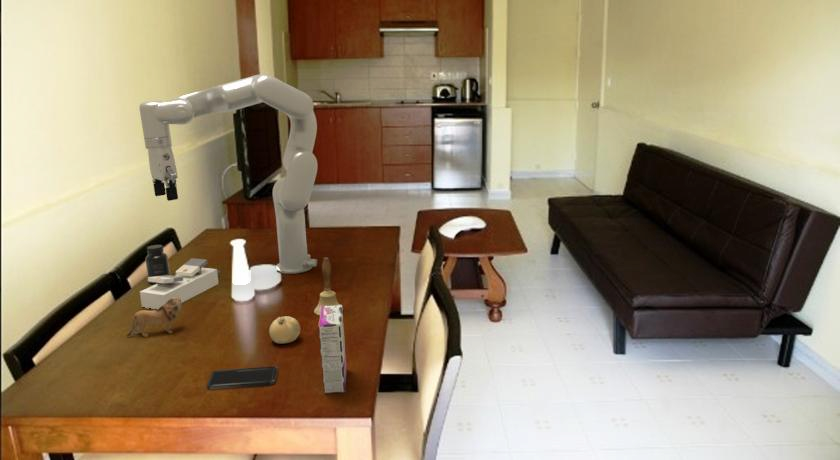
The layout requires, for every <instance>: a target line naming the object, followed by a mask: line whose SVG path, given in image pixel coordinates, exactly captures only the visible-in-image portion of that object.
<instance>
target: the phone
mask: <svg viewBox="0 0 840 460" xmlns="http://www.w3.org/2000/svg"><path fill="white" fill-rule="evenodd" d="M278 372H279V371H278V367H277V366H261V367H260V366H259V367H244V368H229V369H217V370H214V371H212V372H211V374H210V376H209V378H208V381H207V383H206V389H207V390H222V389H223V390H224V389H239V388H252V387H267V386H273V385H274V384H276V380H277V375H278Z"/></svg>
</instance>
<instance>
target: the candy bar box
mask: <svg viewBox="0 0 840 460" xmlns="http://www.w3.org/2000/svg"><path fill="white" fill-rule="evenodd" d="M342 308H343V305H342V304H339V305H329V306H328V305H326V306H322V307H321V314H320V316H319V320H318V337H319V349H320V350H319V351H320V360H321V370H322V371H321V372H322V381H323V383H322V384H323V393H324V394H337V393H338V394H339V393H346V385H347V383H346V382H347V370H348V367H347V356H346V342H345V341H346V339H345V330H344V326H345V325H344V315H343V311H342Z"/></svg>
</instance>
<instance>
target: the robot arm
mask: <svg viewBox="0 0 840 460" xmlns="http://www.w3.org/2000/svg"><path fill="white" fill-rule="evenodd" d="M261 103H265V104H266V105H268V106H269V107H271V108H274V109H276V110H278V111H280V112H282V113H283V114H285V115H287V117H288V118H289V121H290V129H289V136H288V140H287V144H286V147H285V151H284V154H283V157H282V165H283V168H284V170H285V172H286V173H285V176H284V177H281V178H279V179H278V180H276V181H275V183H274V185H273V187H272V201H273V206H274V213H275V220H276V233H277V234H276V235H277V247H278V257H279V258H278V259H279V263H277V264H276V265H275V267H276V266H278V267H279V268H280V270H281V274H289V275H291V274H292V275H293V274H300V273H305V272H307V271H310V270H311V269H312V268H313V267H314V268H315V267H317V265H318V259H316V258H311V254H309V253H308V245H307V235H306V234H307V233H306V217H305V208H306V206H307V205H308V204H309V202H310V198H311V195H312V192H313V188H314V185H315V181H316V177H317V174H318V160H317V157H316V156H315V154H314V153H313V150H314V147H315V142H316V137H317V131H318V123H317V117H316V114H315V112H314V102H313V99H312V98H311V96H310V95H309V94H307V93H305V92H303V91H302V90H300V89H297V88H296V87H294V86H292V85H290V84H288V83H285V82H284V81H283V80H280V79H279V78H276V77H275V76H273V75H270V74H265V73H261V74H254V75H252V76H248V77H245V78H241V79H237V80H233V81H230V82H227V83H221V84H220V85H216V86H212V87H210V88H207V89H202V90H200V91H199V90H198V91H195V92H192V93H187V94H184V95H182V96H177V97H175V98H172V99H170V100H169V101H161V100H151V101H150V100H149V101H143V102H141V103H139V114H140V121H141V122H140V123H141V126H142V127H141V128H142V133H143V140H144V146H145V149H146V150H147V152H148V153H147V155H148V163H149V165H148V166H149V170H150V175H151V178H152V183H153V191H154V196H155V197H159V196H166V200H167V201H168V202H170V201H176V200H179V195H178V189H177V188H178V187H177V186H178V185H177V179H178V177H179V176H178V171H177V165H176V161H175V156H174V153H173V149H172V147H173V143H172V137H171V131H170V125H178V126H179V125H180V126H182V125H187V124H189V123H191V122H192V120H193V119H195V118H198V117H202V116H205V115H211V114H216V113H217V114H218V113H220V114H221V113H229V112H234V111H238V110H240V109H243V108H244V109H245V108H246V107H251V106H254V105H257V104H261Z"/></svg>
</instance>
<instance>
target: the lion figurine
mask: <svg viewBox="0 0 840 460" xmlns="http://www.w3.org/2000/svg"><path fill="white" fill-rule="evenodd" d="M182 311H183V303H181V299H179V298H177V297H172V298H170V299H169V300H168V301H167V303H165V304H164V305H162V306H161V307H160V308H159V309H157V310H155V309H153V310H145V309H143V310H140V311H137V312H135V313H134V315H133V317H132V319H131V321H132V322H131V329H130V331H129V332H128V334H127V335H126V337H129V336H131V335H132V334H133V333H134V334H137V335H138V334H140V333H141V334H142V336H143V337H145V338H146V337H149V333H146V332H145V326H146V322H147V323H150V324H153V325H154V324H155V325H158V324H161V323H164V324H163V325H164V329H165V331H167V333H168V334H172V333H174V332H173V329H171V328H172V327H171V322H172V321H176V320H177V319H178V316H179V315H180V314H181V313H182ZM138 328H139V330H138Z"/></svg>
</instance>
